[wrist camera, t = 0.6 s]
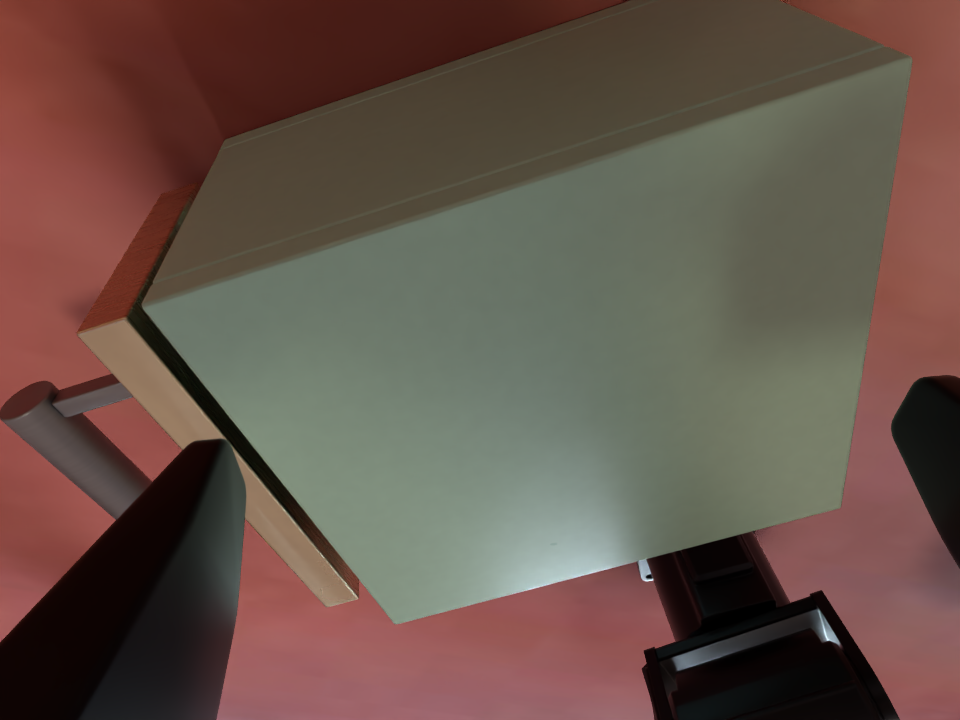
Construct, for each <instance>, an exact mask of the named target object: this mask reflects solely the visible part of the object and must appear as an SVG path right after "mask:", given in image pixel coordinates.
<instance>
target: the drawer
mask: <svg viewBox="0 0 960 720" xmlns="http://www.w3.org/2000/svg"><path fill="white" fill-rule="evenodd" d="M199 190H200V186H199V185H198V183H193V184H190V185H187V186H184V187H181V188H178V189H175V190H172V191H169V192H166V193H163V194H161V195H160V197H159V198H158V200H157V202H156V203H155V205H154V207H153V208H152V210H151V211H150V213H149V215H148V216H147V218H146V220H145V221H144V223H143V225H142V226H141V228H140V229H139V231H138V233H137V234H136V236H135V238H134V239H133V241H132V243H131V244H130V246H129V248H128V249H127V251H126V252H125V254H124V256H123V257H122V259H121V261H120V262H119V264H118V266H117V267H116V269H115V270H114V272H113V274H112V275H111V277H110V279H109V280H108V282H107V284H106V285H105V287H104V289H103V290H102V292H101V293H100V295H99V297H98V298H97V300H96V302H95V303H94V305H93V307H92V308H91V310H90V311H89V313H88V315H87V316H86V318H85V320H84V321H83V323H82V325H81V326H80V328H79V329H78V331H77V336H78V337H79V338H80V339H81V340H82V341H83V342H84V344H85V345H86V346H87V347H88V348H89V349H90V350H91V351H92V352H93V353H94V354H95V356H96V357H97V358H98V359H99V360H100V361H101V362H102V363H103V364H104V365H105V366H106V368H107V369H108V370H109V371H110V372H111V373H112V374H110V375H106V376H103V377H100V378H97V379H94V380H90V381H87V382H84V383H81V384H78V385H74V386H71V387H68V388H65V389H62V390H60V391H59V390H58V389H57V388H56V387H55V386H54V385H53V384H52V383H51V382H48V381H40V382H36V383H33V384H31V385H29V386H27V387H25V388H23V389H22V390H20V391H19V392H17V393H16V394H14V395H13V396H12V397H11V398H10V399H9V400H8V401H7V402H6V403H5V404H4V405H3V407H2V408H1V410H0V419H1V421H3V422H4V423H5V424H6V425H7V426H8V427H10V428H11V429H12V430H13V431H14V432H15V433H16V434H18V435H19V436H20V437H21V438H22V439H23V440H25V441H26V442H27V443H28V444H29V445H30V446H31V447H33V448H34V449H35V450H36V451H37V452H38V453H40V454H41V455H42V456H43V457H44V458H45V459H46V460H48V461H49V462H50V463H51V464H52V465H53V466H55V467H56V468H57V469H58V470H59V471H60V472H61V473H63V474H64V475H65V476H66V477H67V478H68V479H70V480H71V481H72V482H73V483H74V484H75V485H76V486H78V487H79V488H80V489H81V490H82V491H83V492H85V493H86V494H87V495H88V496H89V497H90V498H91V499H93V500H94V501H95V502H96V503H97V504H98V505H99V506H101V507H102V508H103V509H104V510H105V511H106V512H108V513H109V514H110V515H111V516H112V517H113V518H114V519H116V520H117V519H118V518H119V517H120V516H121V515H122V514H123V512H124V511H125V510H126V509H127V508H128V507H129V506H130V505H131V504H132V503H133V502H134V501H135V500H136V499H137V498H138V497H139V496H140V495H141V494H142V492H143V491H144V490H145V489H146V488H147V487H148V486H149V485H150V484H151V483H152V481H151V480H150V479H149V478H148V477H147V476H146V475H145V474H144V473H143V472H142V471H141V470H140V469H139V468H138V467H137V466H136V465H135V464H134V463H133V462H132V461H131V460H130V459H129V458H127V457H126V456H125V455H124V454H123V453H122V452H121V451H120V450H119V449H118V448H117V447H116V446H115V445H114V444H113V443H112V442H111V441H110V440H109V439H108V438H107V437H106V436H105V435H104V434H103V433H102V432H101V431H100V430H99V429H98V428H97V427H96V426H95V425H94V424H93V423H92V422H91V421H90V420H89V419H88V418H87V417H86V416H85V415H84V414H83V412H86V411H89V410H93V409H96V408H99V407H102V406H106V405H109V404H112V403H115V402H119V401H122V400H125V399H128V398H132V397H134V398H135V399H136V400H137V401H138V402H139V404H140V405H141V406H142V407H143V408H144V409H145V410H146V411H147V412H148V413H149V414H150V416H151V417H152V418H153V419H154V420H155V421H156V422H157V423H158V424H159V425H160V426H161V427H162V429H163V430H164V431H165V432H166V433H167V434H168V435H169V436H170V437H171V438H172V439H173V441H174V442H175V443H176V444H177V445H178V446H179V447H180V448H181V449H182V450H183V449H184V448H185V447H186V446H187V445H188V444H190V443H191V442H193V441H197V440H208V439H219V438H222V439H226V440H227V441H228V442H229V443H230V444H231V446H232V449H233V452H234V454H235V457H236V460H237V462H238V465H239V468H240V470H241V473H242V475H243V478H244V481H245V486H246V511H245V519H246V520H247V521H248V522H249V523H250V525H251V526H252V527H253V528H254V529H255V530H256V531H257V532H258V533H259V534H260V535H261V537H262V538H263V539H264V540H265V541H266V542H267V543H268V544H269V545H270V546H271V547H272V549H273V550H274V551H275V552H276V553H277V554H278V555H279V556H280V557H281V558H282V559H283V561H284V562H285V563H286V564H287V565H288V566H289V567H290V568H291V569H292V570H293V571H294V573H295V574H296V575H297V576H298V577H299V578H300V579H301V580H302V581H303V582H304V583H305V585H306V586H307V587H308V588H309V589H310V590H311V591H312V592H313V593H314V594H315V595H316V597H317V598H318V599H319V600H320V601H321V602H322V603H323V604H324V605H325V606H326V607H330V606H334V605H338V604H341V603H345V602H349V601H353V600H356V599H358V598H359V579H358V578H357V576H356V575H355V574H354V573H353V571H352V570H351V569H350V568H349V566H348V565H347V564H346V563H345V561H344V560H343V559H342V558H341V556H340V555H339V554H338V553H337V551H336V550H335V549H334V548H333V546H332V545H331V544H330V543H329V541H328V540H327V539H326V538H325V536H324V535H323V534H322V533H321V531H320V530H319V529H318V528H317V526H316V525H315V524H314V523H313V521H312V520H311V519H310V518H309V516H308V515H307V514H306V512H305V511H304V510H303V509H302V507H301V506H300V505H299V504H298V502H297V501H296V500H295V499H294V497H293V496H292V495H291V494H290V492H289V491H288V490H287V489H286V487H285V486H284V485H283V484H282V482H281V481H280V480H279V479H278V477H277V476H276V475H275V474H274V472H273V471H272V470H271V469H270V467H269V466H268V465H267V464H266V462H265V461H264V460H263V459H262V457H261V456H260V455H259V454H258V452H257V451H256V450H255V449H254V447H253V446H252V445H251V444H250V442H249V441H248V440H247V439H246V437H245V436H244V435H243V434H242V432H241V431H240V430H239V429H238V427H237V426H236V425H235V424H234V422H233V421H232V420H231V419H230V417H229V416H228V415H227V414H226V412H225V411H224V410H223V409H222V407H221V406H220V405H219V404H218V402H217V401H216V400H215V398H214V397H213V396H212V395H211V393H210V392H209V391H208V390H207V388H206V387H205V386H204V385H203V383H202V382H201V381H200V380H199V378H198V377H197V376H196V375H195V373H194V372H193V371H192V370H191V368H190V367H189V366H188V365H187V363H186V362H185V361H184V360H183V358H182V357H181V356H180V355H179V353H178V352H177V351H176V350H175V348H174V347H173V346H172V345H171V343H170V342H169V341H168V340H167V338H166V337H165V336H164V335H163V333H162V332H161V331H160V330H159V328H158V327H157V326H156V325H155V323H154V322H153V321H152V320H151V318H150V317H149V316H148V315H147V313H146V312H145V311H144V310H143V308H142V302H143V300H144V298H145V296H146V294H147V292H148V291H149V289H150V287H151V286H152V285H153V280H154V278H155V276H156V274H157V272H158V271H159V269H160V267H161V265H162V263H163V261H164V259H165V257H166V255H167V253H168V251H169V249H170V247H171V245H172V243H173V241H174V239H175V237H176V235H177V233H178V231H179V229H180V227H181V225H182V223H183V221H184V220H185V218H186V216H187V214H188V212H189V210H190V208H191V206H192V204H193V202H194V200H195V198H196V196H197V194H198V192H199Z"/></svg>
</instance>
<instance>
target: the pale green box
mask: <svg viewBox="0 0 960 720" xmlns="http://www.w3.org/2000/svg"><path fill="white" fill-rule="evenodd" d="M911 67H912V58H911V56H908V55H906V54H904V53H901V52H899V51H897V50H894V49H892V48H889V47H884V45H883V44H881V43H878V42H876V41H873V40H871V39H869V38H866V37H864V36H862V35H859V34H857V33H855V32H852V31H850V30H848V29H845V28H843V27H841V26H838V25H836V24H833V23H831V22H829V21H826V20H824V19H822V18H819V17H817V16H815V15H812V14H810V13H808V12H805V11H803V10H800V9H798V8H796V7H793V6H791V5H789V4H786V3H784V2H782V1H779V0H630V1H627V2H624V3H622V4H619V5H616V6H613V7H610V8H607V9H604V10H601V11H598V12H595V13H592V14H589V15H587V16H584V17H581V18H578V19H575V20H572V21H569V22H566V23H563V24H560V25H557V26H555V27H552V28H549V29H546V30H543V31H540V32H537V33H534V34H531V35H528V36H525V37H522V38H520V39H517V40H514V41H511V42H508V43H505V44H502V45H499V46H496V47H493V48H490V49H487V50H485V51H482V52H479V53H476V54H473V55H470V56H467V57H464V58H461V59H458V60H455V61H452V62H450V63H447V64H444V65H441V66H438V67H435V68H432V69H429V70H426V71H423V72H420V73H417V74H415V75H412V76H409V77H406V78H403V79H400V80H397V81H394V82H391V83H388V84H385V85H382V86H380V87H377V88H374V89H371V90H368V91H365V92H362V93H359V94H356V95H353V96H350V97H348V98H345V99H342V100H339V101H336V102H333V103H330V104H327V105H324V106H321V107H318V108H315V109H313V110H310V111H307V112H304V113H301V114H298V115H295V116H292V117H289V118H286V119H283V120H280V121H278V122H275V123H272V124H269V125H266V126H263V127H260V128H257V129H254V130H251V131H248V132H245V133H243V134H240V135H237V136H234V137H231V138H228V139H225V140H224V142H223V144H222V146H221V148H220V151H219V153H218V155H217V157H216V159H215V161H214V163H213V165H212V167H211V168H210V170H209V172H208V174H207V176H206V178H205V180H204V182H203V184H202V186H201V188H200V190H199V192H198V194H197V196H196V198H195V200H194V202H193V204H192V206H191V208H190V210H189V212H188V214H187V216H186V218H185V220H184V221H183V223H182V225H181V227H180V229H179V231H178V233H177V235H176V237H175V239H174V241H173V243H172V245H171V247H170V249H169V251H168V253H167V255H166V257H165V259H164V261H163V263H162V265H161V267H160V269H159V271H158V272H157V274H156V276H155V278H154V280H153V285H152V286H151V287H150V289H149V291H148V292H147V294H146V296H145V298H144V300H143V302H142V308H143V310H144V311H145V312H146V313H147V315H148V316H149V317H150V318H151V320H152V321H153V322H154V323H155V325H156V326H157V327H158V328H159V330H160V331H161V332H162V333H163V335H164V336H165V337H166V338H167V340H168V341H169V342H170V343H171V345H172V346H173V347H174V348H175V350H176V351H177V352H178V353H179V355H180V356H181V357H182V358H183V360H184V361H185V362H186V363H187V365H188V366H189V367H190V368H191V370H192V371H193V372H194V373H195V375H196V376H197V377H198V378H199V380H200V381H201V382H202V383H203V385H204V386H205V387H206V388H207V390H208V391H209V392H210V393H211V395H212V396H213V397H214V398H215V400H216V401H217V402H218V404H219V405H220V406H221V407H222V409H223V410H224V411H225V412H226V414H227V415H228V416H229V417H230V419H231V420H232V421H233V422H234V424H235V425H236V426H237V427H238V429H239V430H240V431H241V432H242V434H243V435H244V436H245V437H246V439H247V440H248V441H249V442H250V444H251V445H252V446H253V447H254V449H255V450H256V451H257V452H258V454H259V455H260V456H261V457H262V459H263V460H264V461H265V462H266V464H267V465H268V466H269V467H270V469H271V470H272V471H273V472H274V474H275V475H276V476H277V477H278V479H279V480H280V481H281V482H282V484H283V485H284V486H285V487H286V489H287V490H288V491H289V492H290V494H291V495H292V496H293V497H294V499H295V500H296V501H297V502H298V504H299V505H300V506H301V507H302V509H303V510H304V511H305V512H306V514H307V515H308V516H309V518H310V519H311V520H312V521H313V523H314V524H315V525H316V526H317V528H318V529H319V530H320V531H321V533H322V534H323V535H324V536H325V538H326V539H327V540H328V541H329V543H330V544H331V545H332V546H333V548H334V549H335V550H336V551H337V553H338V554H339V555H340V556H341V558H342V559H343V560H344V561H345V563H346V564H347V565H348V566H349V568H350V569H351V570H352V571H353V573H354V574H355V575H356V576H357V578H358V579H359V580H360V581H361V583H362V584H363V585H364V586H365V588H366V589H367V590H368V591H369V593H370V594H371V595H372V596H373V598H374V599H375V600H376V601H377V603H378V604H379V605H380V606H381V608H382V609H383V610H384V611H385V613H386V614H387V615H388V616H389V618H390V619H391V620H392V621H393V623H394V624H400V623H404V622H407V621H411V620H415V619H419V618H423V617H426V616H430V615H434V614H438V613H442V612H446V611H449V610H453V609H457V608H461V607H465V606H468V605H472V604H476V603H480V602H484V601H488V600H491V599H495V598H499V597H503V596H507V595H510V594H514V593H518V592H522V591H526V590H530V589H533V588H537V587H541V586H545V585H549V584H552V583H556V582H560V581H564V580H568V579H572V578H575V577H579V576H583V575H587V574H591V573H594V572H598V571H602V570H606V569H610V568H614V567H617V566H621V565H625V564H629V563H633V562H636V561H640V560H644V559H648V558H652V557H656V556H659V555H663V554H667V553H671V552H675V551H679V550H682V549H686V548H690V547H694V546H698V545H701V544H705V543H709V542H713V541H717V540H721V539H724V538H728V537H732V536H736V535H740V534H743V533H747V532H751V531H755V530H759V529H763V528H766V527H770V526H774V525H778V524H782V523H785V522H789V521H793V520H797V519H801V518H805V517H808V516H812V515H816V514H820V513H824V512H827V511H831V510H835V509H839V508H840V507H841V503H842V497H843V490H844V484H845V478H846V472H847V466H848V459H849V453H850V447H851V441H852V434H853V428H854V422H855V416H856V410H857V403H858V397H859V391H860V385H861V378H862V372H863V366H864V360H865V353H866V347H867V341H868V335H869V329H870V322H871V316H872V310H873V304H874V297H875V291H876V285H877V279H878V273H879V266H880V260H881V254H882V248H883V241H884V235H885V229H886V223H887V217H888V210H889V204H890V198H891V192H892V185H893V179H894V173H895V167H896V161H897V154H898V148H899V142H900V136H901V129H902V123H903V117H904V111H905V104H906V98H907V92H908V86H909V80H910V73H911Z"/></svg>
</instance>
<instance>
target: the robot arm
mask: <svg viewBox="0 0 960 720" xmlns="http://www.w3.org/2000/svg"><path fill="white" fill-rule="evenodd" d="M891 431H892V436H893V439H894V441H895V443H896V445H897V447H898V449H899V451H900V453H901V456H902V458H903V460H904V462H905V464H906V466H907V468H908V470H909V472H910V474H911V476H912V479H913V481H914V483H915V485H916V487H917V489H918V491H919V493H920V495H921V497H922V499H923V502H924V504H925V506H926V508H927V510H928V512H929V514H930V516H931V518H932V520H933V522H934V524H935V526H936V528H937V530H938V532H939V534H940V536H941V538H942V540H943V541H944V543H945V545H946V547H947V548H948V550H949V552H950V554H951V555H952V557H953V559H954V560H955V562H956V563H957V565H958V567H959V568H960V378H958V377H956V376H951V375H942V376H931V377H923V378H920V379H918V380H917V381H915V382H914V384H913V385H912V386H911V388H910V390H909V392H908V393H907V395H906V397H905V399H904V400H903V402H902V404H901V406H900V407H899V409H898V411H897V413H896V414H895V416H894V418H893V420H892V425H891ZM245 511H246V486H245V481H244V478H243V475H242V473H241V470H240V468H239V465H238V462H237V460H236V457H235V454H234V452H233V449H232V446H231V444H230V443H229V442H228V441H227V440H226V439H222V438H219V439H208V440H197V441H193V442H191V443H190V444H188V445H187V446H186V447H185V448H184V449H183V450H182V451H181V452H180V453H179V455H178V456H177V457H176V458H175V459H174V460H173V461H172V462H171V463H170V464H169V465H168V466H167V467H166V468H165V469H164V470H163V471H162V472H161V473H160V475H159V476H158V477H157V478H156V479H155V480H154V481H153V482H152V483H151V484H150V485H149V486H148V487H147V488H146V489H145V490H144V491H143V492H142V494H141V495H140V496H139V497H138V498H137V499H136V500H135V501H134V502H133V503H132V504H131V505H130V506H129V507H128V508H127V509H126V510H125V511H124V512H123V514H122V515H121V516H120V517H119V518H118V519H117V520H116V521H115V522H114V523H113V524H112V525H111V526H110V527H109V528H108V529H107V530H106V531H105V533H104V534H103V535H102V536H101V537H100V538H99V539H98V540H97V541H96V542H95V543H94V544H93V545H92V546H91V547H90V548H89V549H88V550H87V551H86V553H85V554H84V555H83V556H82V557H81V558H80V559H79V560H78V561H77V562H76V563H75V564H74V565H73V566H72V567H71V568H70V569H69V570H68V572H67V573H66V574H65V575H64V576H63V577H62V578H61V579H60V580H59V581H58V582H57V583H56V584H55V585H54V586H53V587H52V588H51V589H50V590H49V592H48V593H47V594H46V595H45V596H44V597H43V598H42V599H41V600H40V601H39V602H38V603H37V604H36V605H35V606H34V607H33V608H32V609H31V611H30V612H29V613H28V614H27V615H26V616H25V617H24V618H23V619H22V620H21V621H20V622H19V623H18V624H17V625H16V626H15V627H14V628H13V629H12V631H11V632H10V633H9V634H8V635H7V636H6V637H5V638H4V639H3V640H2V641H1V642H0V720H216V719H217V714H218V709H219V704H220V699H221V694H222V689H223V684H224V679H225V674H226V669H227V664H228V659H229V654H230V649H231V644H232V639H233V634H234V628H235V622H236V616H237V607H238V598H239V586H240V573H241V561H242V548H243V536H244V523H245ZM637 564H638V569H639V573H640V576H641V579H642V580H644V581H651V580H654V583H655V586H656V588H657V591H658V594H659V597H660V600H661V602H662V605H663V608H664V611H665V613H666V616H667V619H668V622H669V624H670V627H671V630H672V633H673V635H674V638H675V641H676V642H674V643H671V644H668V645H665V646H662V647H659V648H656V649H655V647H653V648H650V649H647V650H644V654H645V658H646V662H647V664H646V665H645V666H644V667H643V668H642V672H643V675H644V678H645V681H646V685H647V688H648V691H649V695H650V698H651V702H652V707H653V713H654V720H900V719H899V717H898V715H897V713H896V711H895V709H894V707H893V705H892V703H891V701H890V699H889V697H888V696H887V694H886V692H885V690H884V688H883V687H882V685H881V683H880V681H879V680H878V678H877V676H876V675H875V673H874V671H873V670H872V668H871V666H870V665H869V663H868V662H867V660H866V658H865V657H864V655H863V654H862V652H861V651H860V649H859V648H858V646H857V644H856V643H855V641H854V640H853V638H852V637H851V635H850V634H849V632H848V630H847V629H846V627H845V626H844V624H843V623H842V621H841V620H840V618H839V616H838V615H837V613H836V612H835V610H834V609H833V607H832V606H831V604H830V602H829V601H828V599H827V598H826V596H825V595H824V593H823V592H822V590H820V591H817V592H814V593H811V594H810V596H809V597H806V598H803V599H800V600H797V601H795V602H792V603H790V601H789V599H788V597H787V596H786V594H785V592H784V590H783V588H782V586H781V584H780V582H779V580H778V579H777V577H776V575H775V573H774V571H773V569H772V567H771V565H770V563H769V562H768V560H767V558H766V556H765V554H764V552H763V550H762V548H761V547H760V545H759V543H758V541H757V539H756V537H755V535H754V531H751V532H747V533H743V534H740V535H736V536H732V537H728V538H724V539H721V540H717V541H713V542H709V543H705V544H701V545H698V546H694V547H690V548H686V549H682V550H679V551H675V552H671V553H667V554H663V555H659V556H656V557H652V558H648V559H644V560H640V561H637Z"/></svg>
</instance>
